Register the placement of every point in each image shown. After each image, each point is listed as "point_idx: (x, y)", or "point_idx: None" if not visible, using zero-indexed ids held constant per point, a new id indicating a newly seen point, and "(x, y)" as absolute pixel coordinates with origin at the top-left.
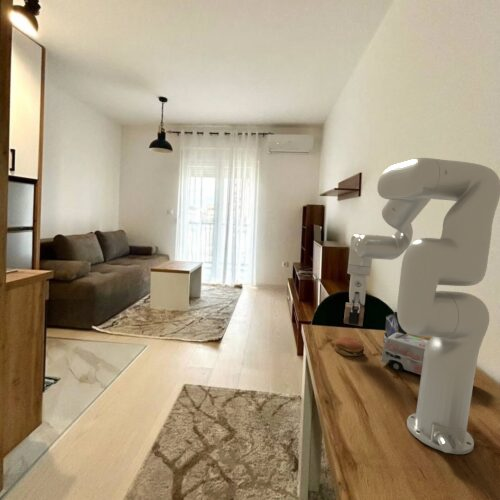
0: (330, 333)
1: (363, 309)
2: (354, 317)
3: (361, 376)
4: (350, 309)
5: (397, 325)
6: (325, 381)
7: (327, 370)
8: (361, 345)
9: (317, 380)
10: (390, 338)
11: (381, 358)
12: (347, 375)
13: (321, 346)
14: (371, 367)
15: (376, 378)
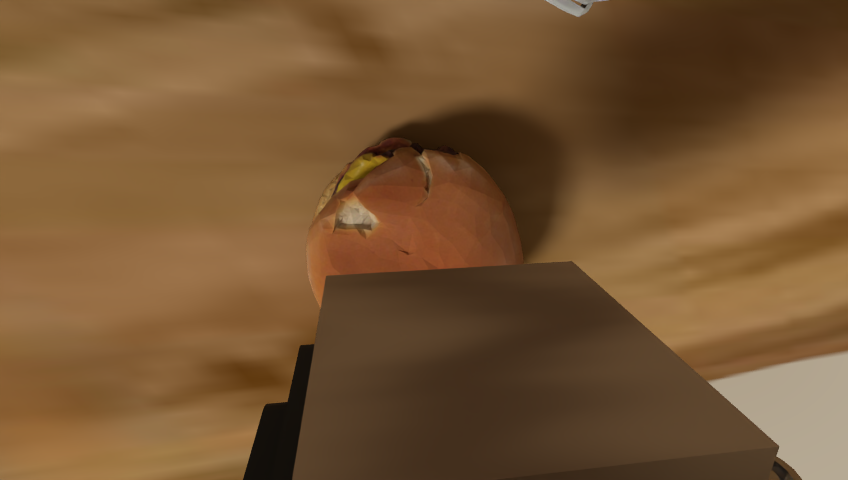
0: (67, 387)
1: (763, 450)
2: None
3: (766, 159)
4: None
5: None
6: (844, 321)
7: (731, 327)
8: (467, 178)
9: (838, 351)
10: None
11: (580, 7)
12: (768, 232)
13: None
14: (624, 89)
15: (777, 69)
